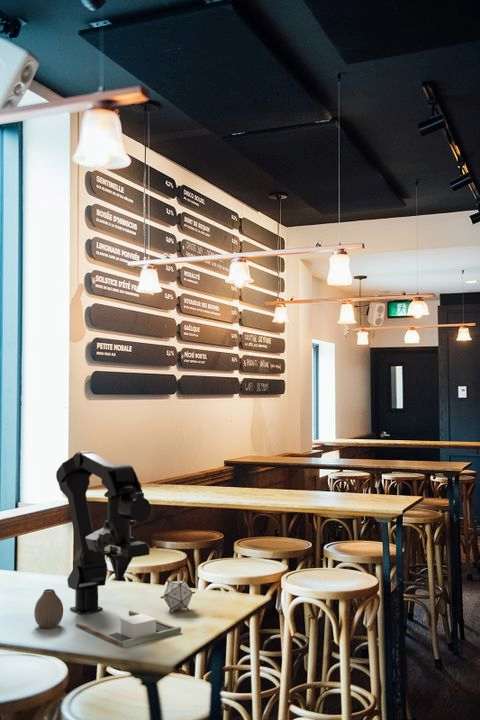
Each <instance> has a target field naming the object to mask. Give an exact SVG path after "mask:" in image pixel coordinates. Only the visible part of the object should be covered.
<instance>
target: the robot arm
mask: <svg viewBox="0 0 480 720" xmlns="http://www.w3.org/2000/svg"><path fill="white" fill-rule="evenodd" d="M92 475H94V476H96V477H98V478H100V479H101V484H102V486H104V487H105V489H106V490H107V491H106V492H104V497H105V498H107V520H103V521H104V522H103V524H102V528H100V529H98V530H96V531H95V530H94V532H93V526H92V521H91V520H92V519H91V516H90V515H91V514H90V509H89V504H88V499H87V491H88V488H89V486H90V483H91V481H90V478H91V477H92ZM55 478H56V481H57V482H58V487H59V490H60V492H62V493H63V495H64V496H65V497H66V498H67V502H68V508H69V512H70V513H69V514H70V517H71V518H70V519H71V523H72V531H73V535H74V540H75V546H76V553H75V555H74V558H73V561H72V569H71V572H70V574H69V575H68V577H67V587H68V588H70V589H71V590H74V591H75V592H74V593H75V596H74V597H75V599H74V606H71V607H70V608H69V610H70V611H73V612H75V613H78V614H79V615H86V614H90V613H96V612H99V611H103V610H104V607H103V606H99V587H100V586H101V587H102V586H106V582H107V576H108V571H109V568H108V563H107V561H106V560H107V559H106V557H107V558H108V559H109V562H110V565H111V567H112V570H113V573H114V577H115V580H116V581H117V582H119V581H122V580H123V578H124V576H125V573H126V572H127V569H128V567H129V565H130V563H131V562H132V559H134V558H137V557H143V556H145V557H146V556H150V555H151V554H150V553H151V552H150V551H151V550H150V548H151V547H150V545H149V544H148V543H147V542H144V541H139V540H138V541H135V536H134V537H133V536H132V526H134V525H135V522H138V523H142V522H145V521H146V520H147V519H148V518H149V517H150V516H151V511H152V505H151V503H150V501H149V500H148V499H147V498H145V494H144V492H143V490H142V489H143V488H142V486H143V485H142V484H141V482H140V480H139V478H138V475H137V473H136V471H135V469H134V467H133V466H132V465H130V464H123V463H113V462H111V461H109V460H108V459H106V458H103V457H101V456H100V455H97V454H96V452H94V451H91V450H87V451H86V450H85V451H77V452H76V453H75V454H73V456H72V457H70V458H69V459H67V460H65V461H64V462H62V463H61V465H60V466H59V467H58V469H57V470H56V475H55Z"/></svg>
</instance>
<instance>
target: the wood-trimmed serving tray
mask: <svg viewBox="0 0 480 720" xmlns="http://www.w3.org/2000/svg"><path fill="white" fill-rule="evenodd" d="M138 614H140V613H139V612H136V611H133V610H128V615H130V616H134V615H138ZM156 623H157V624H159V625H162V626H164V627H167V628H170V629H168V630H164V631H160V632H156V633H152V634H148V635H144V636H140V637H136V638H132V639H129V640H125V641H120V640H118V639H116V638H113V637H111V636H109V634H106V633H104V632H102V631H99V630H97V629H95V628H92V627H91V626H89V625H86V624H84V623H81V622H79V621H78V622H75V627H77V628H79V629H80V630H83V631H85V630H86V632H88V633H90V634H92V635H95V636H97V637H99V638H101V639H103V640H105V641H108V642H110V643H112V644H114V645H117V646H119V647H121V648H127V647H132V646H134V645H139V644H143V643H146V642H150V641H153V640H157V639H161V638H166V637H169V636H172V635H173V636H174V635H177V634H181V633H182V627H181V626H173V625H171V624H168V623H165V622H163V621H160V620H158V619H156Z"/></svg>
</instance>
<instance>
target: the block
mask: <svg viewBox="0 0 480 720" xmlns="http://www.w3.org/2000/svg"><path fill="white" fill-rule="evenodd" d="M156 620H157V619H156V618H153V617H151V616H148V615H146V614H144V613H139V614H138V615H134V616H132V615H130V616H125V617H122V618H120V634H122V635H125V636H127V637H129V638H136V637H140V636H144V635H148V634H152V633H156Z"/></svg>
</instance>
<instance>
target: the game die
mask: <svg viewBox="0 0 480 720" xmlns="http://www.w3.org/2000/svg"><path fill="white" fill-rule="evenodd" d="M186 581H187V577H184V579H183V580H174V581H170V580H169V579H166V582H167V585H166V587H165V591H164V593H163V595H162V596H160V597H159V598H160V599H163V600H164V601H165V603H166V604H167V607H168V608H169V610H168V611H169V612H168V613H171V612H172V610H182V609H186V610H187V611H188V612H189V611H190V609H189V608H188V607H189V604H190V602H191V599H192V596H193V594H194V595H195V594H196V591H192V589H191V588H190V586H189V585H188V583H187V582H186Z"/></svg>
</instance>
